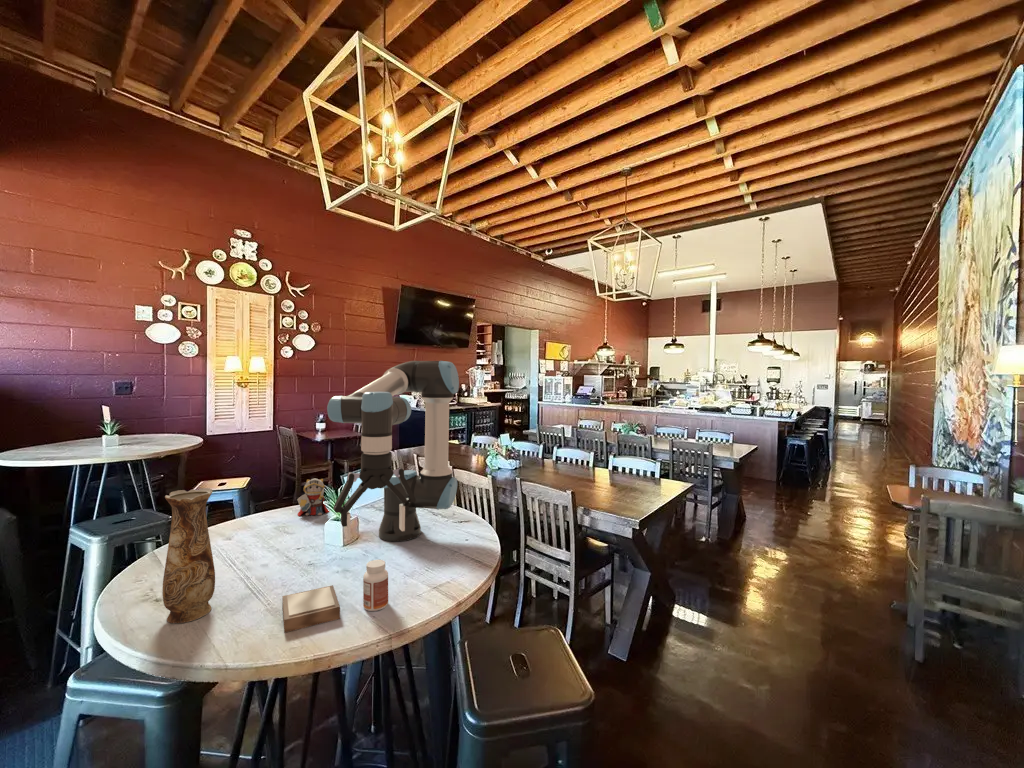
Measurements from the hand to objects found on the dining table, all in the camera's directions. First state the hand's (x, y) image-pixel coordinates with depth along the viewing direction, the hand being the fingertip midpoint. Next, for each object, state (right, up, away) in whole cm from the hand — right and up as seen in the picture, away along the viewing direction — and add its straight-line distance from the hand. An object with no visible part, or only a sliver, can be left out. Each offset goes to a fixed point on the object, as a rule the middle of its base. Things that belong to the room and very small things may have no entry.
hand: (375, 534), depth 111 cm
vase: (-45, -18, -4) cm, 48 cm away
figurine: (-49, -16, +71) cm, 87 cm away
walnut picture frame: (-15, -19, -4) cm, 24 cm away
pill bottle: (0, -19, +1) cm, 19 cm away
